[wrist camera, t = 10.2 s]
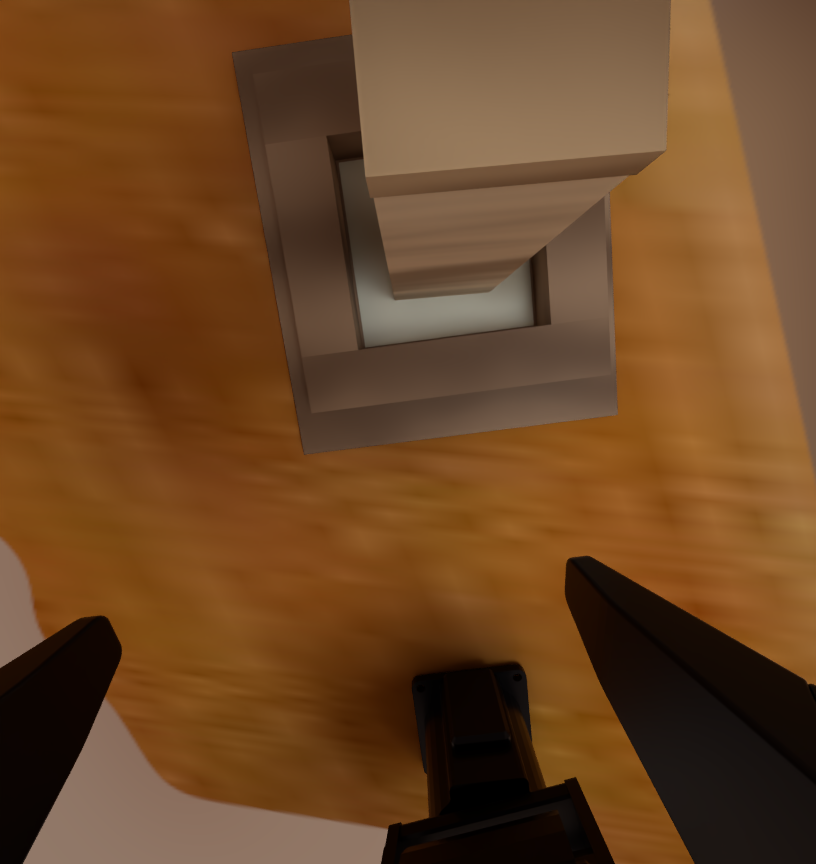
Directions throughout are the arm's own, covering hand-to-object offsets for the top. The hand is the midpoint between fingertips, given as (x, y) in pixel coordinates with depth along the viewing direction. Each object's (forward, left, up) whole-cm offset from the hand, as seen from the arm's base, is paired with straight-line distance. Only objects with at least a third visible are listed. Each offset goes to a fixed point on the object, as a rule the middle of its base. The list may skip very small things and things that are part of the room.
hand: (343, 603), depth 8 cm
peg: (+10, -4, -13) cm, 16 cm away
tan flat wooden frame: (+9, -4, -13) cm, 17 cm away
